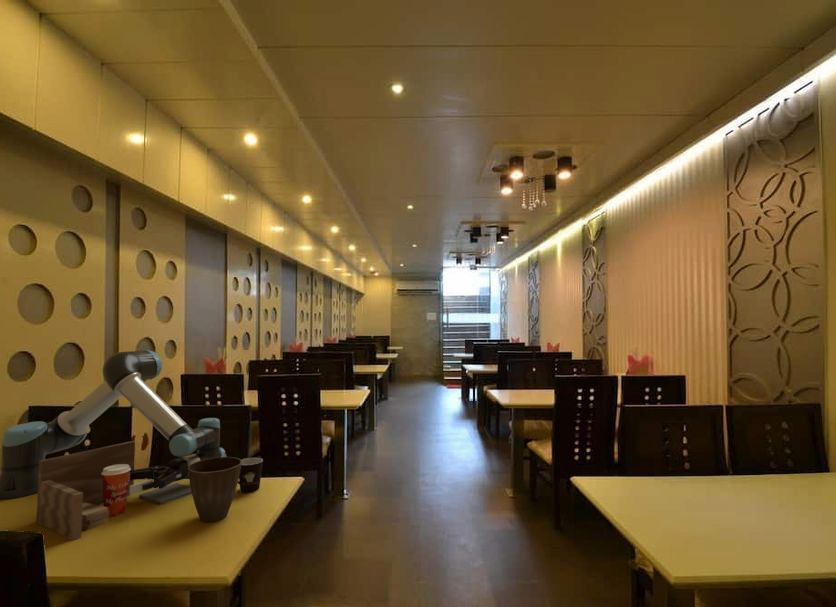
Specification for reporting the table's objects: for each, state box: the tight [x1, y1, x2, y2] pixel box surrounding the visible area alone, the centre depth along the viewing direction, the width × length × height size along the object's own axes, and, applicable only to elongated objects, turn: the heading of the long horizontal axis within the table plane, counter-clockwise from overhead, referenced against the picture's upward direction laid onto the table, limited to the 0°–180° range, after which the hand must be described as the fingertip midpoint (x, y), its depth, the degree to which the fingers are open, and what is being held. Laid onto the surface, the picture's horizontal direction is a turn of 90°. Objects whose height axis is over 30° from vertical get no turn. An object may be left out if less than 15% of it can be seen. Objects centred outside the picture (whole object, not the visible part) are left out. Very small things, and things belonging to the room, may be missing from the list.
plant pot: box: [188, 456, 242, 523], centre depth 130 cm, size 15×15×16 cm
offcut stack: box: [81, 502, 110, 531], centre depth 126 cm, size 12×7×4 cm, turn 73°
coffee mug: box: [237, 457, 264, 493], centre depth 153 cm, size 12×9×10 cm
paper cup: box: [101, 464, 131, 517], centre depth 134 cm, size 8×8×14 cm
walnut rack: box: [36, 440, 136, 541], centre depth 133 cm, size 24×26×18 cm
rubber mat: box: [138, 482, 192, 505], centre depth 148 cm, size 13×13×1 cm
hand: (118, 486), depth 134 cm, fingers open, 13 cm apart
